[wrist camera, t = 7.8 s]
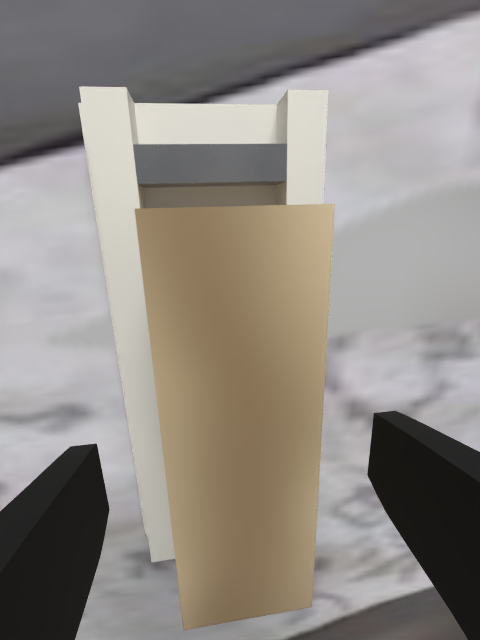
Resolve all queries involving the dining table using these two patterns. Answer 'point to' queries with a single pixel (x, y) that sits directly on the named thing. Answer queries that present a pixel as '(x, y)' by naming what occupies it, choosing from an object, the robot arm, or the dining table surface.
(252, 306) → the beige rectangular panel
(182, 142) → the cream rectangular frame
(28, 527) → the robot arm
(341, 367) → the dining table surface
